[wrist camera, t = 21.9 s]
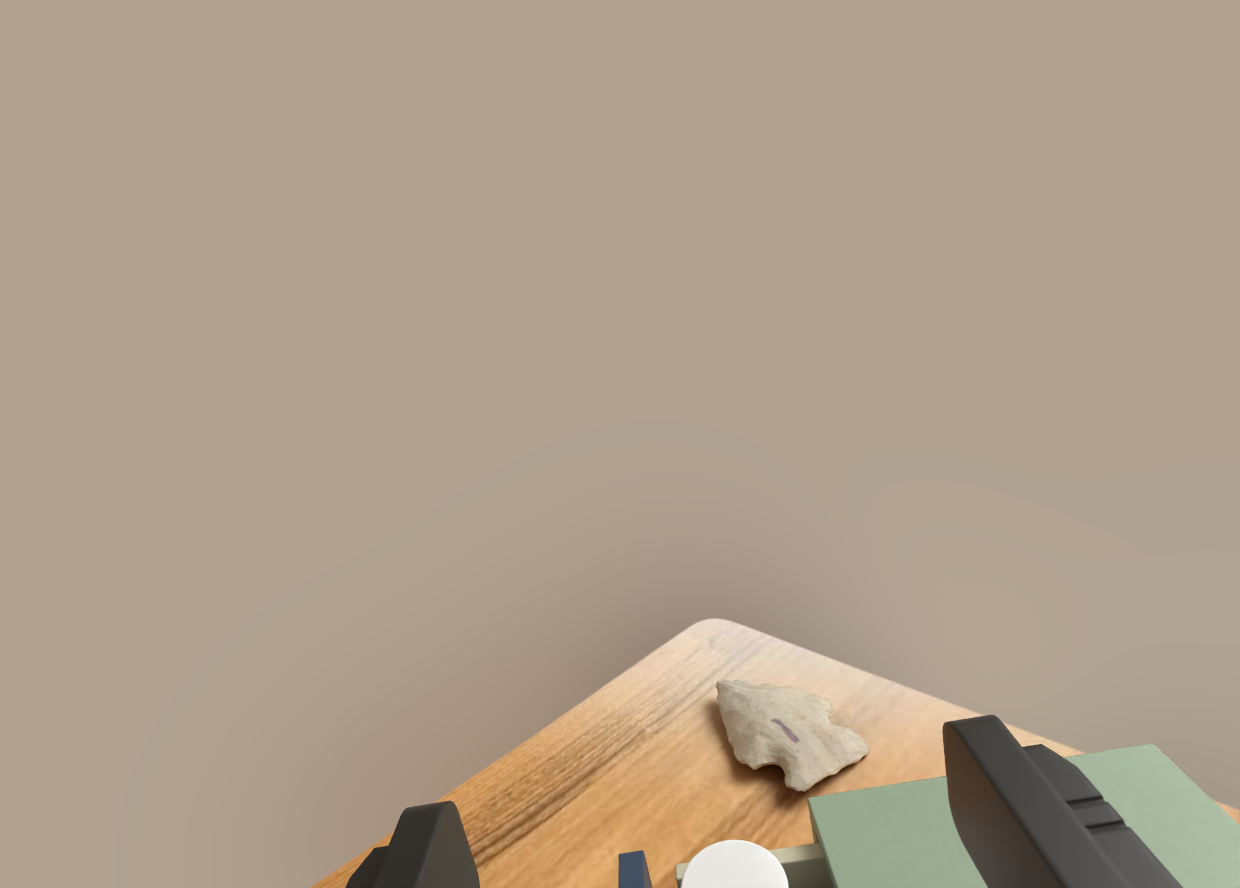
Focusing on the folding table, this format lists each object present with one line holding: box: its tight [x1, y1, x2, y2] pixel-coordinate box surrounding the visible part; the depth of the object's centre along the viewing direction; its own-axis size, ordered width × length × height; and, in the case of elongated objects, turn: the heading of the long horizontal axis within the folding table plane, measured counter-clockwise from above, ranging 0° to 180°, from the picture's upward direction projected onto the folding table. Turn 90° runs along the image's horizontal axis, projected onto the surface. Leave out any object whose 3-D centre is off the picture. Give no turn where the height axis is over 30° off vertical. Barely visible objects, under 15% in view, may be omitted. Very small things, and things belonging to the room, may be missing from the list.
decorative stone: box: [716, 680, 870, 792], centre depth 49 cm, size 8×12×3 cm
